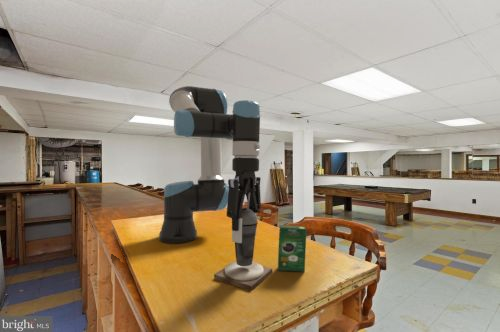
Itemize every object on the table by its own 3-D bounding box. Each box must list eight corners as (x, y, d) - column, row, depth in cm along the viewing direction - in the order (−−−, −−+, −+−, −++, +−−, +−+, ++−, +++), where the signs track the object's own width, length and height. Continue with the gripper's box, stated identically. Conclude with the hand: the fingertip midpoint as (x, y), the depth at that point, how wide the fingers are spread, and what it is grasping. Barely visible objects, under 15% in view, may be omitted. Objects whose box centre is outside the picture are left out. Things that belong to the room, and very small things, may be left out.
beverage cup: (231, 258, 74) (232, 191, 73) (255, 257, 75) (256, 191, 74) (231, 268, 67) (232, 194, 66) (258, 268, 67) (259, 194, 67)
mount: (214, 278, 69) (214, 271, 69) (238, 263, 79) (238, 257, 79) (251, 290, 63) (251, 283, 63) (272, 272, 73) (272, 265, 73)
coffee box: (304, 268, 76) (305, 225, 76) (305, 272, 74) (306, 228, 73) (277, 267, 77) (278, 224, 77) (278, 271, 74) (279, 227, 74)
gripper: (237, 156, 59) (235, 251, 60) (273, 157, 77) (272, 231, 77) (212, 156, 63) (211, 245, 64) (252, 157, 81) (251, 228, 81)
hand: (244, 238), depth 71 cm, fingers closed on beverage cup, 7 cm apart
